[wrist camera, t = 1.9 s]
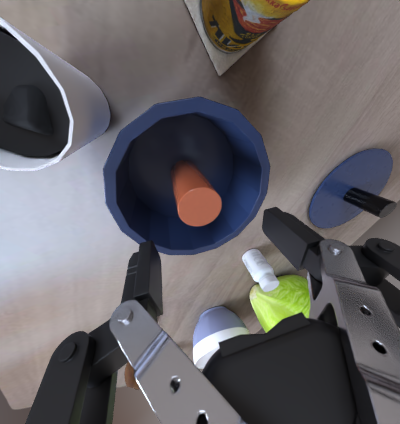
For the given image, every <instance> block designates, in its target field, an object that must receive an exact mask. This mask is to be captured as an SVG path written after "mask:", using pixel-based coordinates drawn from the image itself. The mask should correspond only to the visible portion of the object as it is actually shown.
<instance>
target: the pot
mask: <svg viewBox="0 0 400 424" xmlns="http://www.w3.org/2000/svg"><path fill="white" fill-rule="evenodd" d="M181 160H189V161H192V162H194V163H195V164H196V165H197V167H198V168H199V169H200V171H201V172H202V173H203V174H204V176H205V177H206V178H207V180H208V181H209V182H210V184H211V185H212V186H213V188H214V189H215V190H216V192H217V193H218V194H219V196H220V198H221V201H222V207H221V211H220V213H219V215H218V216H217V217H216V218H215V219H214V220H213V221H212V222H210V223H209V224H206V225H204V226H190V225H188V224H186V223H184V222H183V221H182V220H181V219H180V217H179V215H178V211H177V206H176V201H175V197H174V192H173V187H172V183H171V178H170V171H171V168H172V167H173V165H174V164H175V163H177V162H178V161H181ZM269 173H270V163H269V160H268V156H267V153H266V149H265V146H264V143H263V139H262V136H261V134H260V133H259V132H258V131H257V130H256V129H255V128H254V127H253V126H252V125H251V124H250V122H249V121H248V120H247V119H246V118H245V117H244V116H243V115H242V114H241V113H240V112H239V110H237V109H235V108H232V107H229V106H226V105H223V104H220V103H217V102H214V101H211V100H208V99H206V98H203V97H193V98H187V99H181V100H175V101H169V102H163V103H157V104H154V105H153V106H152V107H151V108H149V109H148V110H147V111H145V112H144V113H143V114H141V115H140V116H139V117H138V118H136V119H135V120H134V121H132V122H131V123H130V124H128V125H127V126H126V127H125V128H123V129H122V130H121V131H120V132H119V134H118V136H117V139H116V141H115V143H114V145H113V148H112V150H111V152H110V154H109V156H108V159H107V161H106V163H105V165H104V168H103V176H104V191H105V204H106V206H107V207H108V209H109V211H110V213H111V214H112V216H113V218H114V219H115V221H116V223H117V225H118V226H119V228H120V230H121V231H122V232H123V233H125V234H126V235H127V236H129V237H130V238H131V239H133V240H134V241H136V242H137V243H138V244H140V243H142V242H146V241H150V240H153V242H154V244H155V247H156V249H157V251H158V252H161V253H164V254H167V255H195V254H198V253H201V252H205V251H208V250H212V249H215V248H218V247H219V246H221V245H223V244H224V243H226V242H228V241H229V240H231V239H233V238H234V237H236V236H238V235H239V234H240V233H241V232H242V230H243V229H244V228H245V227H246V226H247V225H248V224H249V223H250V222H251V221H252V220H253V219H254V218H255V217H256V215H257V213H258V211H259V209H260V206H261V204H262V202H263V200H264V198H265V196H266V194H267V189H268V181H269Z"/></svg>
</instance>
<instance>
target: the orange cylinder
mask: <svg viewBox="0 0 400 424" xmlns="http://www.w3.org/2000/svg"><path fill="white" fill-rule="evenodd" d="M170 178H171V183H172V187H173V192H174V197H175V201H176V206H177V211H178V215H179V217H180V219H181V220H182V221H183V222H184V223H186V224H188V225H190V226H204V225H206V224H209V223H210V222H212V221H213V220H214V219H215V218H216V217H217V216H218V215H219V213H220V211H221V207H222V201H221V198H220V196H219V194H218V193H217V192H216V190H215V189H214V188H213V186H212V185H211V184H210V182H209V181H208V180H207V178H206V177H205V176H204V174H203V173H202V172H201V171H200V169H199V168H198V167H197V165H196V164H195V163H194V162H192V161H189V160H181V161H178V162H177V163H175V164H174V165H173V167H172V168H171V171H170Z"/></svg>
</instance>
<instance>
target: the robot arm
mask: <svg viewBox="0 0 400 424" xmlns="http://www.w3.org/2000/svg"><path fill="white" fill-rule="evenodd" d="M262 229H263V232H264V233H265V235H266V236H267V237H268V238H269V239H270V240H271V241H272V242H273V244H274V245H275V246H276V247H277V248H278V249H279V250H280V251H281V252H282V254H283V255H284V256H285V257H286V258H287V259H288V260H289V261H290V262H291V264H292V265H293V266H294V267H295V268H296V269H297V270H298V271H299V270H302V269H306V270H307V271H308V272H307V280H308V288H309V296H310V311H309V318H306V317H305V315H304V314H303V313H302V312H300V313H298V314H295V315H292V316H289V317H287V318H284V319H282V320H281V321H280V322H278V323H277V324H276V325H275V326H274V327H273V328H272V329H270V330H269V331H268V332H267V333H265V334H242V335H237V336H235V337H232V338H229V339H226V340H224V341H221V342H218V343H219V347H220V348H219V349H218V350H217V351H216V352H215V353H214V354H213V355H212V356H211V357H210V359H209V360H208V362H207V363H206V365H205V367H204V369H203V371H202V372H201V371H200V370H199V369H198V368H197V367H196V365H195V364H194V363H193V362H192V361H191V360H190V359H189V358H188V356H187V355H186V354H185V353H184V352H183V351H182V350H181V349H180V347H179V346H178V345H177V344H176V343H175V342H174V341H173V339H172V338H171V337H170V336H169V335H168V334H167V333H166V332H165V331H164V330H163V329H162V328H161V327H160V326H159V325H158V323H157V316H160V315H163V305H162V274H161V259H160V256H159V253H158V251H157V249H156V247H155V244H154V242H153V240H150V241H146V242H142V243H140V246H139V252H136V253H133V255H132V257H131V258H130V260H129V263H128V270H127V276H126V280H125V285H124V290H123V296H122V301H121V304H120V305H119V306H118V307H117V308H116V310H115V311H114V312H113V314H112V316H111V319H109V320H108V321H107V322H105V323H104V324H102V325H101V326H99V327H98V328H96V329H95V330H93V331H92V332H90V333H89V334H87V333H86V332H83V331H79V332H75V333H73V334H71V335H70V336H68V337H67V338H66V339H65V340H64V341H63V342H62V343H61V344H60V345H59V346H58V347H57V348H56V350H55V351H54V353H53V355H52V357H51V359H50V361H49V364H48V366H47V369H46V372H45V374H44V377H43V379H42V382H41V384H40V387H39V390H38V392H37V395H36V397H35V400H34V402H33V405H32V408H31V411H30V413H29V415H28V418H27V421H26V423H25V424H112V420H113V411H114V402H115V392H116V383H117V374H118V369H120V368H121V367H122V366H124V365H125V364H126V363H127V362H130V364H131V365H132V367H133V369H134V377H135V379H136V381H137V383H138V385H139V387H140V388H141V390H142V391H143V393H144V395H145V397H146V398H147V400H148V402H149V404H150V405H151V407H152V409H153V411H154V412H155V414H156V416H157V418H158V419H159V421H160V423H161V424H400V331H399V328H400V290H399V289H397V288H396V287H395V286H394V285H392V284H391V283H390V282H388V281H387V280H386V279H385V278H386V277H387V276H388V275H389V274H391V275H392V276H393V277H395V278H396V279H397V280H399V281H400V246H398V245H396V244H394V243H392V242H390V241H387V240H384V239H378V238H371V239H368V240H367V241H366V242H365V244H364V245H363V246H347V245H346V244H344V243H342V242H340V241H337V240H333V239H324V238H323V237H321V236H320V235H319V234H317V233H316V232H315V231H313V230H312V229H311V228H309V227H308V226H307V225H304V223H303V222H301V221H299V219H297V218H296V217H295V216H293V215H291V214H289V213H286V212H282V211H281V210H280V209H279V208H277V207H273V208H270V209H266V210H264V215H263V224H262ZM398 327H399V328H398Z"/></svg>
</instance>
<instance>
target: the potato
mask: <svg viewBox="0 0 400 424" xmlns="http://www.w3.org/2000/svg"><path fill="white" fill-rule="evenodd" d="M125 382H126V385H127V387H131V388H134V389H136V390H139V389H141V388H140V387H139V385H138V383H137V381H136V379H135V377H134V369H133V367H132V365H131V364H130V362H127V365H126V368H125Z"/></svg>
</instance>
